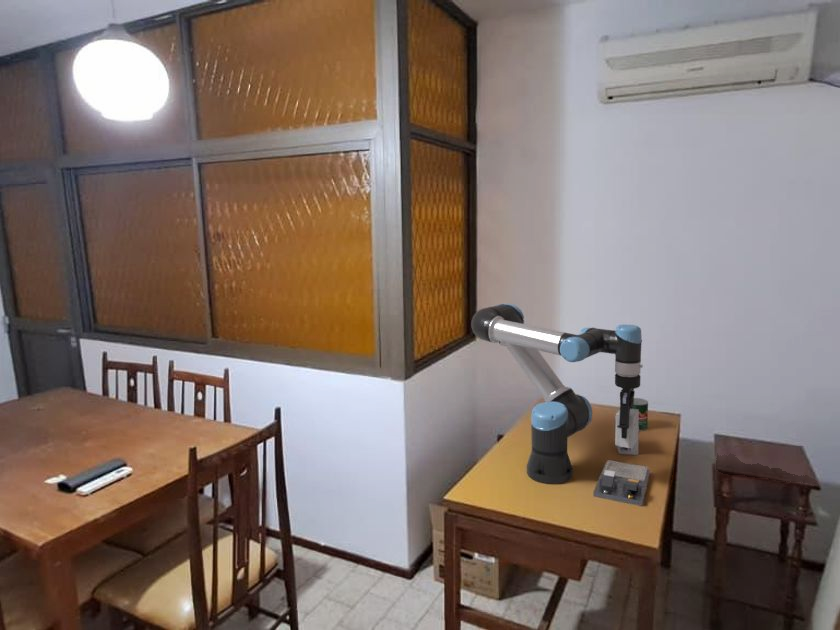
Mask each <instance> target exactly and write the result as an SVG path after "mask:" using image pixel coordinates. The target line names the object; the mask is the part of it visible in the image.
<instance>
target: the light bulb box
mask: <svg viewBox="0 0 840 630" xmlns="http://www.w3.org/2000/svg"><path fill="white" fill-rule="evenodd" d="M614 417H615V418H614V420H615V423H614V424H615V425H614V427H615V428H614V429H616V415H615V416H614ZM639 432H640V431H639V426H638V440H637V441H636V443H635V445H634V447H633V448H626V447H620V446H617V445H615V446H616V449H617V451H618V454H619V455H634V456H636V455H637V456H638V455H639V439H640V437H639Z"/></svg>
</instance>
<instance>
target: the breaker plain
mask: <svg viewBox="0 0 840 630" xmlns="http://www.w3.org/2000/svg"><path fill="white" fill-rule="evenodd" d="M614 480H615V471H609V470H605V473H604V477H603V481H602V485H601V487H602V489H603V490H608V491H612V488H613V484H614Z"/></svg>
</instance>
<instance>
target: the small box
mask: <svg viewBox="0 0 840 630" xmlns="http://www.w3.org/2000/svg"><path fill="white" fill-rule="evenodd" d="M615 416H616V429H615V428H614V429H615V431H614V432H615V435H614V438H615V439H614V444H615V446H616V445H617V446H620V428H618V427H617V426H618V425H619V421H620V408H619V410H618V411H617V412H616V414H615ZM638 417H639V410H638V409H630V416H629V448H633V447H634V445H635V443H636V441H637V440H638V441H639V438H638ZM617 446H616V447H617Z"/></svg>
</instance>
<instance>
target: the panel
mask: <svg viewBox="0 0 840 630" xmlns="http://www.w3.org/2000/svg"><path fill="white" fill-rule="evenodd" d="M648 467H649V466H646V465H645V466H644V465H639V464H633V463H628V462H627V463H626V462H621V461H614V460H611V459H607V461H606V462H605V463H604V466H603V468H602V470H601V473H600V475H599V477H598V480H597V482H596V485H595V487H594V490H593V494H592V495H593V497H596V498H600V499H606V500H610V501H615V502H620V503H621V502H622V503H627V504H629V505H630V504H631V505H636V506H639V507H643V505H644V500H645V497H646V492H647V489H646V488H647V487H648V483H649V479H650V475H651V470H650V469H649V468H648ZM605 470H609V471H615V480H614V484H613V488H612V491H608V490H603V489H602V487H601V485H602V481H603V477H604V473H605ZM628 479H633V480H639V487H638V489H637V491H634V490H629V489H626V483H627V481H628Z"/></svg>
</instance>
